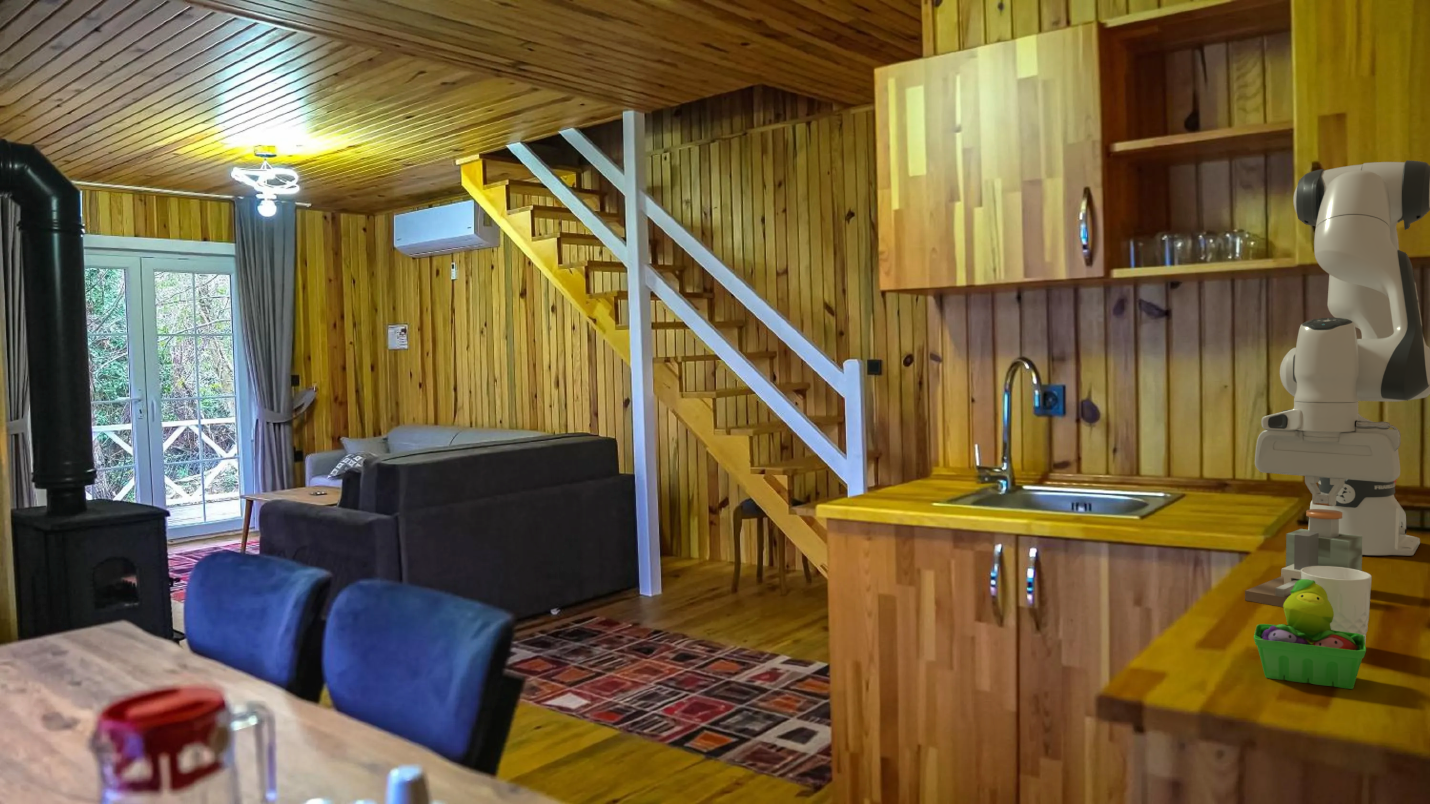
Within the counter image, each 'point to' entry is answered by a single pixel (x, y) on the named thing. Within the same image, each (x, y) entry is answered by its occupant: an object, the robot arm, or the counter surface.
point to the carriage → (1302, 555)
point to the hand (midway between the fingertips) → (1324, 505)
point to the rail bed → (1330, 553)
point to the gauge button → (1324, 522)
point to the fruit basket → (1309, 642)
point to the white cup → (1344, 595)
